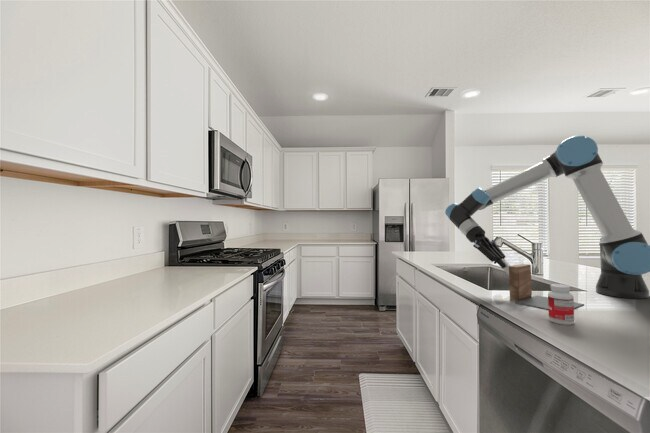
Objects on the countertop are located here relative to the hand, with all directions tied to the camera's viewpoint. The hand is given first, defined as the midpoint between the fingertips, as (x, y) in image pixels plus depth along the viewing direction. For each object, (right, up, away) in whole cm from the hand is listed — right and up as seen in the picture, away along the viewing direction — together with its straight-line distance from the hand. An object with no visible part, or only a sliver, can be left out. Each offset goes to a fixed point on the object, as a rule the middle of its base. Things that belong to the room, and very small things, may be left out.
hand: (512, 273), depth 120 cm
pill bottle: (-3, -10, -29) cm, 30 cm away
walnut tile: (+2, -9, -2) cm, 10 cm away
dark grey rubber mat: (+7, -9, -11) cm, 16 cm away
